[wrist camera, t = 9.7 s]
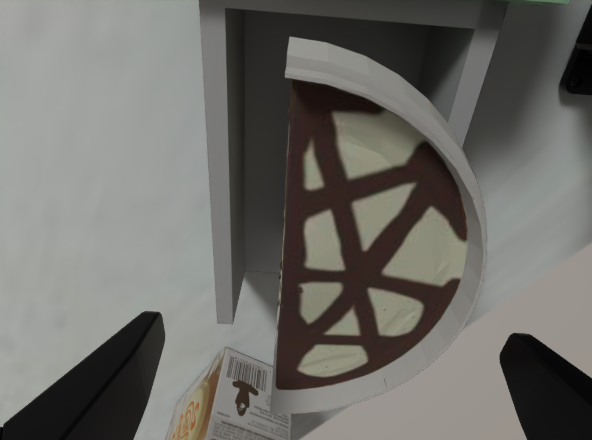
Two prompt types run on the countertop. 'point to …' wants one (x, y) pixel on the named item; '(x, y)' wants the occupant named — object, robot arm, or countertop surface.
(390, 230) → the food container
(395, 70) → the green block on stand
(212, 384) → the coffee box
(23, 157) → the countertop surface
